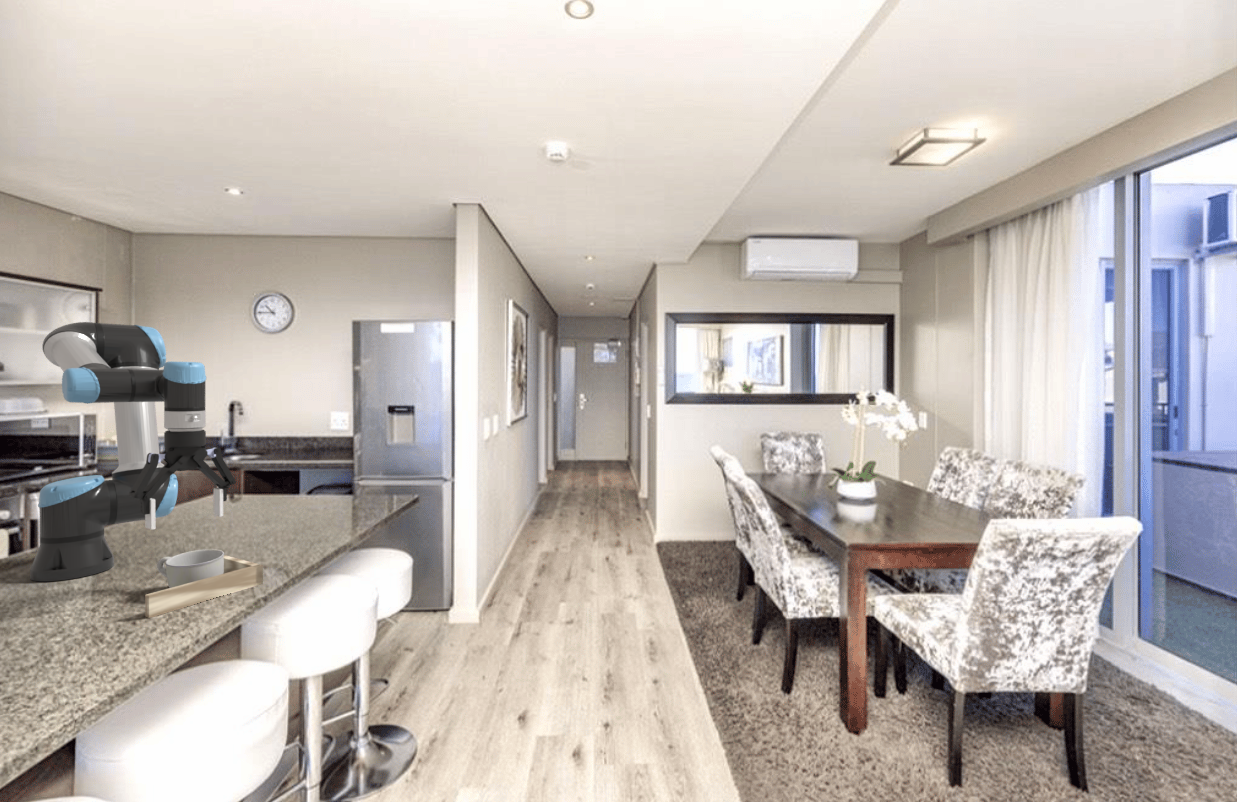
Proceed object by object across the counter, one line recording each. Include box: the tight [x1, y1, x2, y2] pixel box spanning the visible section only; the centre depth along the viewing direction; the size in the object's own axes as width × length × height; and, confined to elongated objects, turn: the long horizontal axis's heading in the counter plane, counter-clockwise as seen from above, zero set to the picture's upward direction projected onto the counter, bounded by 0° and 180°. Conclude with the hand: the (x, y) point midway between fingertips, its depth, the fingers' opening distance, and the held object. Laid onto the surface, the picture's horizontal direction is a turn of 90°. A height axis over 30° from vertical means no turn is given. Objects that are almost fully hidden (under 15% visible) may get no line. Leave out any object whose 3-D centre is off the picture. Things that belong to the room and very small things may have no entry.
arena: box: [144, 554, 264, 619], centre depth 129 cm, size 20×22×4 cm
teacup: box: [156, 548, 225, 588], centre depth 130 cm, size 14×11×8 cm
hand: (186, 521), depth 130 cm, fingers open, 13 cm apart
